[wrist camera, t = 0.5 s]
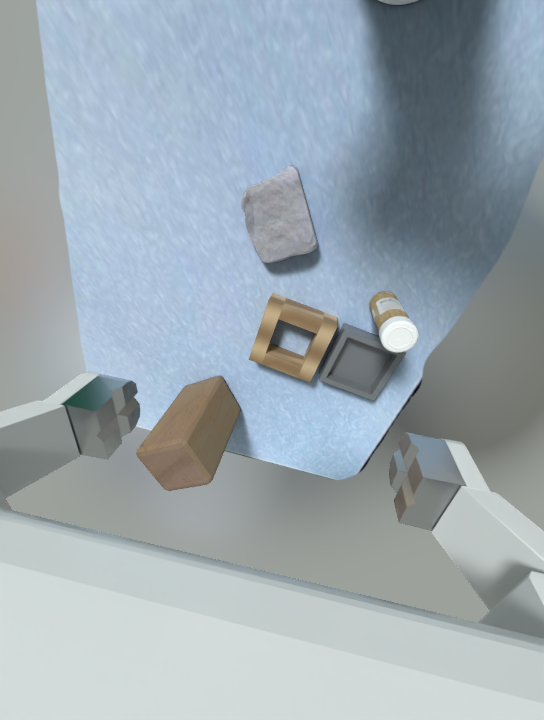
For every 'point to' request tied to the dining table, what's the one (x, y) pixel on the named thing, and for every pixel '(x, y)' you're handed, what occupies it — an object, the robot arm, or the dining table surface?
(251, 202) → the stone block
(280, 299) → the oak bore block
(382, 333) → the sprinkles bottle
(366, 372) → the tray
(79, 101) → the dining table surface
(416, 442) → the robot arm
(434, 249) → the dining table surface
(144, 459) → the wooden block
